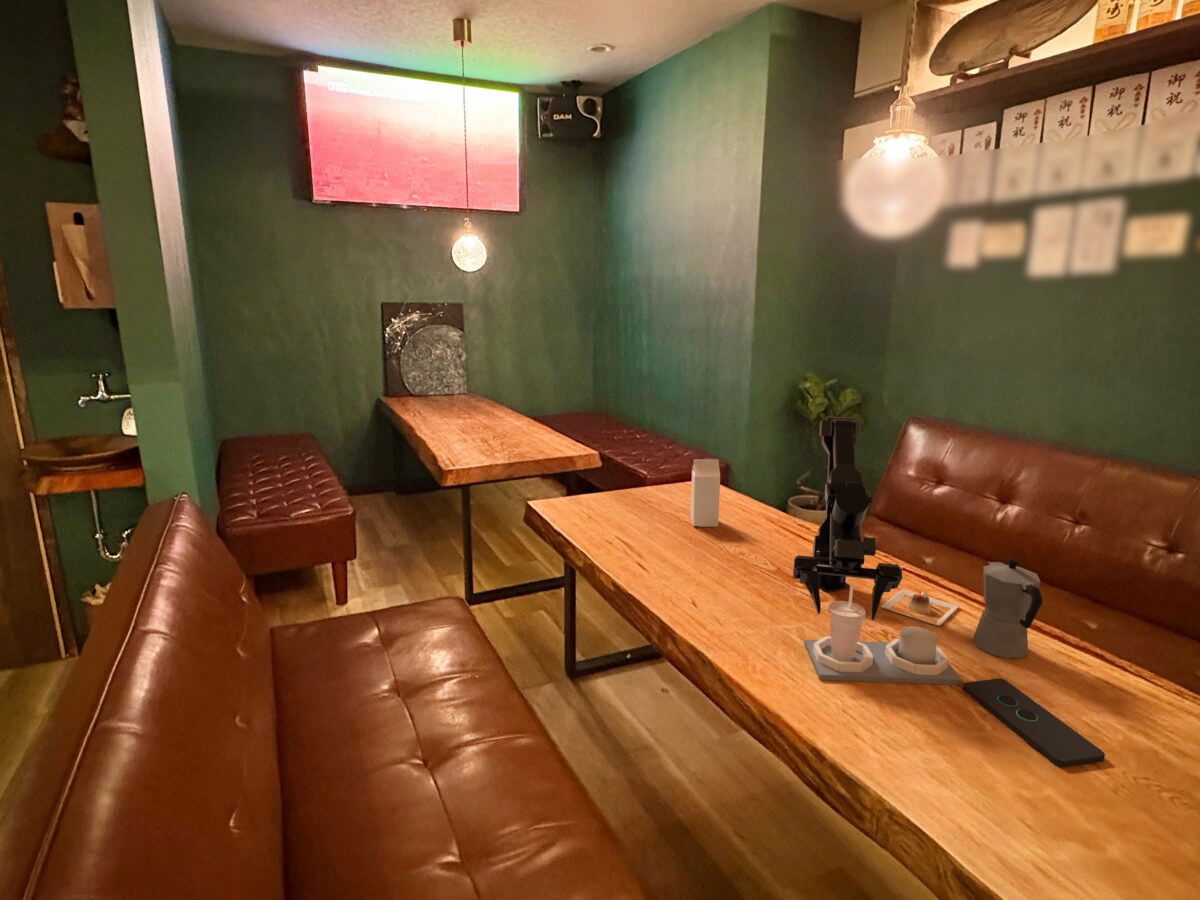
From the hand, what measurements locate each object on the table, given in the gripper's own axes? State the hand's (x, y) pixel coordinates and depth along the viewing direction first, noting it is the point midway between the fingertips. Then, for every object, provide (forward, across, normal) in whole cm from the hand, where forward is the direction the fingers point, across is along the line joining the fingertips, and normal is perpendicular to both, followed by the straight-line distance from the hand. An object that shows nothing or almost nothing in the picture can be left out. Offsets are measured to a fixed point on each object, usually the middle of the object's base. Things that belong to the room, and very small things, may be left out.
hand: (845, 616), depth 121 cm
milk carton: (-41, -33, +55) cm, 76 cm away
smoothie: (+6, 0, +5) cm, 8 cm away
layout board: (+6, +6, +7) cm, 11 cm away
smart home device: (+15, +27, -2) cm, 31 cm away
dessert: (-11, +18, +25) cm, 33 cm away
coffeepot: (-2, +30, +15) cm, 33 cm away
